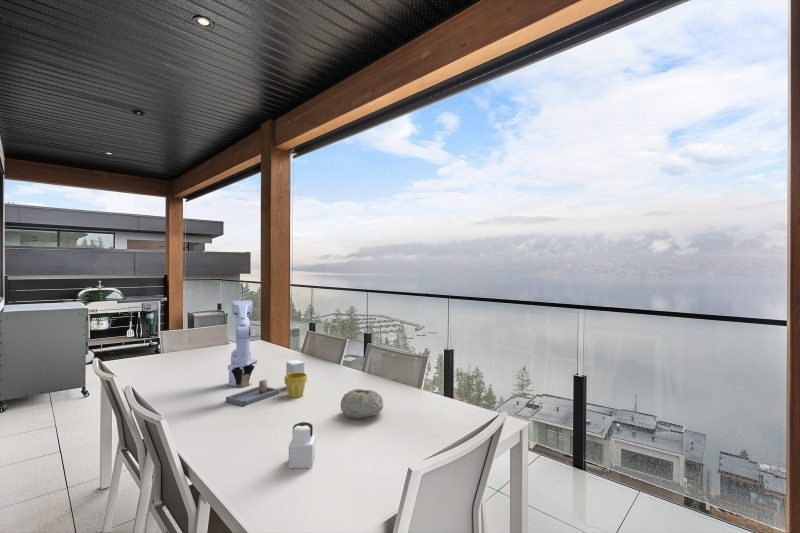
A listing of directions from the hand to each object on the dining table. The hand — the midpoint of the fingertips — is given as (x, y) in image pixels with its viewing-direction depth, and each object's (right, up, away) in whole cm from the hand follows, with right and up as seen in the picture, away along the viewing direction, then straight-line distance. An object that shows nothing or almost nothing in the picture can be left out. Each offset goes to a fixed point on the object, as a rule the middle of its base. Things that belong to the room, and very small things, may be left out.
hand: (242, 382), depth 175 cm
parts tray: (+3, -8, +5) cm, 10 cm away
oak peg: (+6, -8, +11) cm, 14 cm away
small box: (+18, -9, +21) cm, 29 cm away
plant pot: (+22, -9, +9) cm, 25 cm away
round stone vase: (+56, -9, -15) cm, 58 cm away
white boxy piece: (+41, -9, -54) cm, 69 cm away
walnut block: (0, -2, 0) cm, 2 cm away
